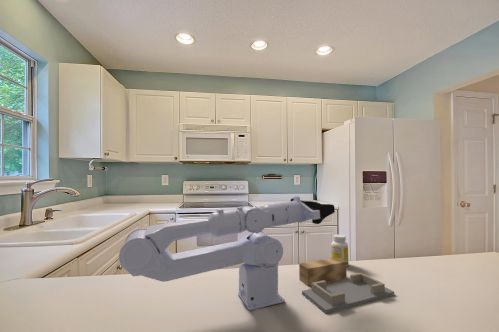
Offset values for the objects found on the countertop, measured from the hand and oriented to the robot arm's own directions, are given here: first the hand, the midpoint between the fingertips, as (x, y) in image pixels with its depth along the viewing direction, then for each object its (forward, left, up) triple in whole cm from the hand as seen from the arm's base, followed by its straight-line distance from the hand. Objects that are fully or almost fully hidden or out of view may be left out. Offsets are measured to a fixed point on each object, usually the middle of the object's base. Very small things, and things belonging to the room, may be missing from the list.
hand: (323, 206), depth 65 cm
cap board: (+2, -7, -22) cm, 23 cm away
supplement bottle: (+15, +10, -22) cm, 28 cm away
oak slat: (+2, +3, -22) cm, 22 cm away
